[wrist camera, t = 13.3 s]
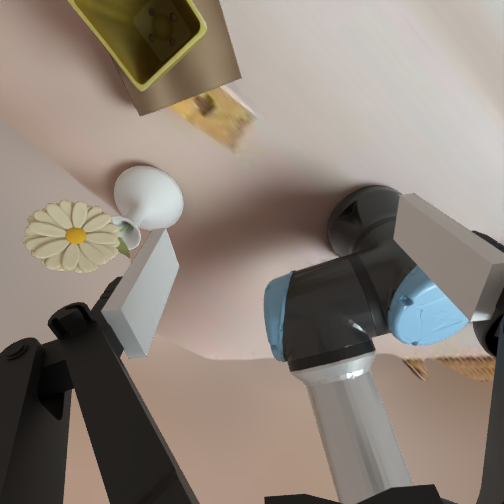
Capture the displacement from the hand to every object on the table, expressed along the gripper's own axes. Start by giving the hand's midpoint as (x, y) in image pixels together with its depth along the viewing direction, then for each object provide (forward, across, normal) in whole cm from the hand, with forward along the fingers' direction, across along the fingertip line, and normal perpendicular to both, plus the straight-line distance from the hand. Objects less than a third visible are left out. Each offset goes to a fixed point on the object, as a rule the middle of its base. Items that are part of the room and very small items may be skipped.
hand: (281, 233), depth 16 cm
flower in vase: (+32, +20, +6) cm, 38 cm away
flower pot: (+26, +9, -14) cm, 31 cm away
